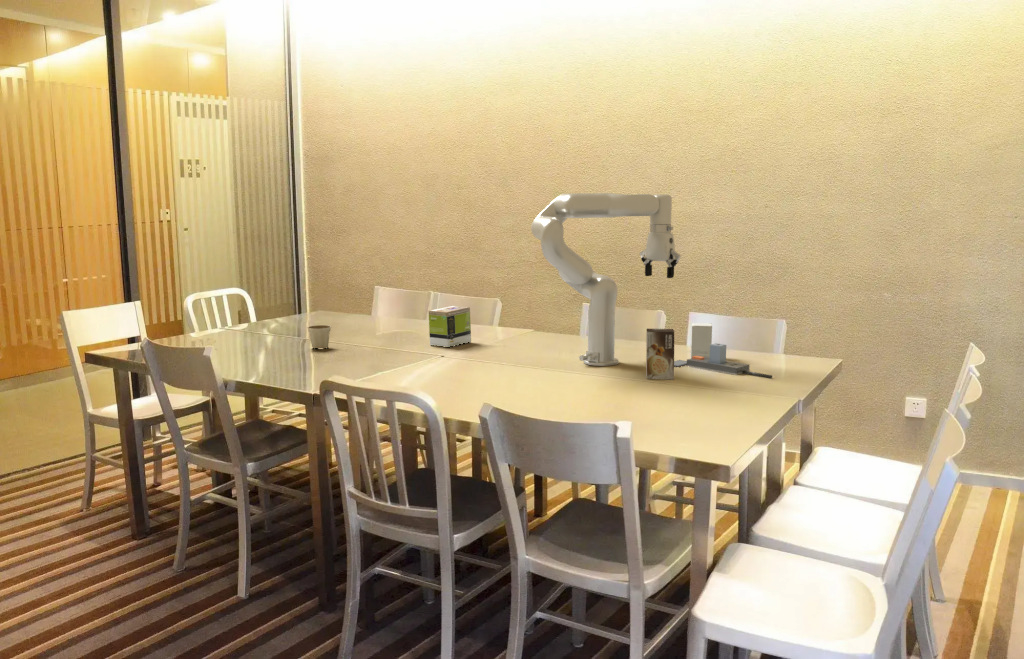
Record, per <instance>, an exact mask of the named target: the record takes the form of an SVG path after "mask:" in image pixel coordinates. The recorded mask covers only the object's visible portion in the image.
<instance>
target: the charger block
mask: <svg viewBox="0 0 1024 659" xmlns="http://www.w3.org/2000/svg"><path fill="white" fill-rule="evenodd" d="M726 361H727V344H723V343H717V342H716V343H715V342H714V343H711V345H710V359H709V363H715V364H723V363H726Z"/></svg>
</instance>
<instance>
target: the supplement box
mask: <svg viewBox="0 0 1024 659" xmlns="http://www.w3.org/2000/svg"><path fill="white" fill-rule="evenodd" d="M690 331H691V332H690V333H691V334H690V359H691V358H692V356H701V357H707V358H710V345H711V344H713V343H712V342H713V341H712V338H713V337H712V336H713V324H712V323H711V322H692V323H691V330H690Z"/></svg>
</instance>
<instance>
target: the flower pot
mask: <svg viewBox="0 0 1024 659" xmlns="http://www.w3.org/2000/svg"><path fill="white" fill-rule="evenodd" d="M331 328H332V326H331V325H329V324H319V325H318V324H317V325H316V324H314V325H308V326H307V327H306V329H308V333H309V338H310V343H311V348H312V347H313V348H326V347H328V348H329V342H330V341H329V340H330V332H331V331H332V330H331ZM326 349H327V348H326Z"/></svg>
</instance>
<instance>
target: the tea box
mask: <svg viewBox="0 0 1024 659" xmlns="http://www.w3.org/2000/svg"><path fill="white" fill-rule="evenodd" d="M471 327H472V326H471V308H470V307H469V306H468V307H467V306H457V305H450V306H445V307H439V308H435V309H430V310H428V330H429V331H428V332H429V333H428V334H429V345H430V346H431V345H437V346H445V347H450V346H453V347H455V346H454V345H457V346H460V345H459V344H461V345H463V343H465V344H468V342H469V343H472V328H471ZM450 348H451V347H450Z"/></svg>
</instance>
